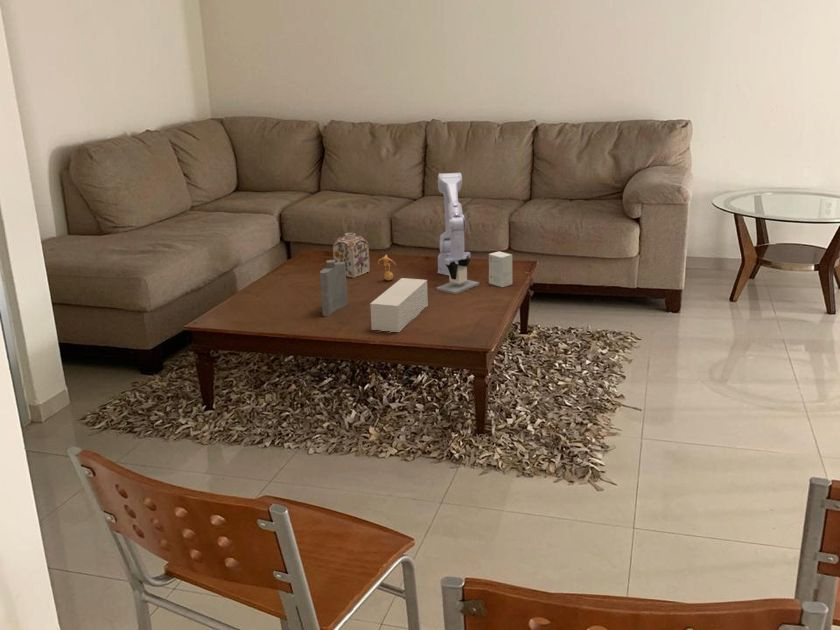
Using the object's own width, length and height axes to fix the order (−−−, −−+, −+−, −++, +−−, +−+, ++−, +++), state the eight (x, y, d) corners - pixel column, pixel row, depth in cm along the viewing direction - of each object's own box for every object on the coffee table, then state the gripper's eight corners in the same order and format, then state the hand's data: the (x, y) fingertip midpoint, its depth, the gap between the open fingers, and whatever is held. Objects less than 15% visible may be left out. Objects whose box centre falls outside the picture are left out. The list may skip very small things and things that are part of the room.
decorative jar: (350, 268, 402) (348, 229, 396) (370, 271, 395) (368, 232, 389) (333, 274, 393) (330, 235, 387) (353, 278, 386) (351, 238, 380)
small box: (512, 284, 372) (512, 254, 367) (501, 287, 368) (501, 257, 363) (499, 280, 377) (499, 250, 373) (488, 283, 374) (488, 253, 369)
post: (453, 285, 370) (453, 273, 368) (457, 283, 372) (457, 272, 370) (458, 286, 368) (458, 274, 366) (462, 284, 370) (462, 273, 368)
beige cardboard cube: (449, 281, 369) (449, 267, 367) (457, 278, 373) (457, 264, 371) (459, 283, 366) (458, 269, 364) (467, 280, 369) (466, 266, 367)
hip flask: (328, 316, 340) (324, 266, 334) (319, 315, 342) (315, 265, 335) (349, 304, 354) (346, 256, 347) (340, 303, 355) (337, 255, 349)
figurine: (399, 279, 383) (398, 252, 379) (394, 283, 378) (393, 256, 374) (381, 278, 385) (380, 251, 381) (376, 282, 380) (375, 255, 376)
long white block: (402, 303, 353) (401, 277, 349) (427, 306, 349) (427, 279, 346) (371, 331, 325) (370, 303, 321) (398, 333, 321) (397, 305, 318)
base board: (436, 289, 368) (436, 287, 367) (460, 280, 379) (460, 278, 379) (455, 294, 361) (455, 291, 361) (479, 284, 373) (479, 282, 372)
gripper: (453, 251, 357) (454, 283, 361) (476, 243, 367) (476, 274, 371) (440, 248, 361) (441, 280, 366) (462, 240, 371) (463, 271, 376)
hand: (458, 277), depth 369 cm, fingers closed on beige cardboard cube, 5 cm apart
